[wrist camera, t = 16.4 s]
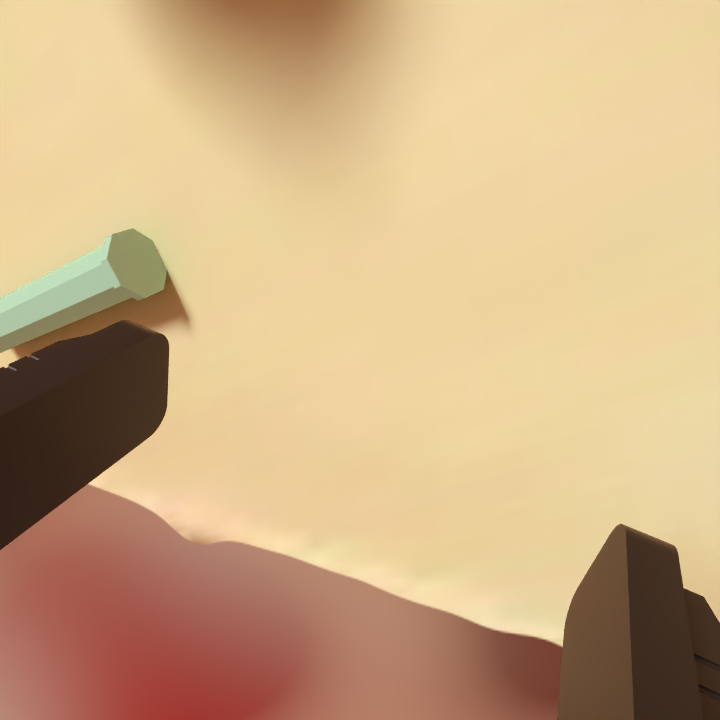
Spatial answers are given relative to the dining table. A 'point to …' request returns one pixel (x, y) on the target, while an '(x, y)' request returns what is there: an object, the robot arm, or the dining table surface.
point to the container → (83, 288)
